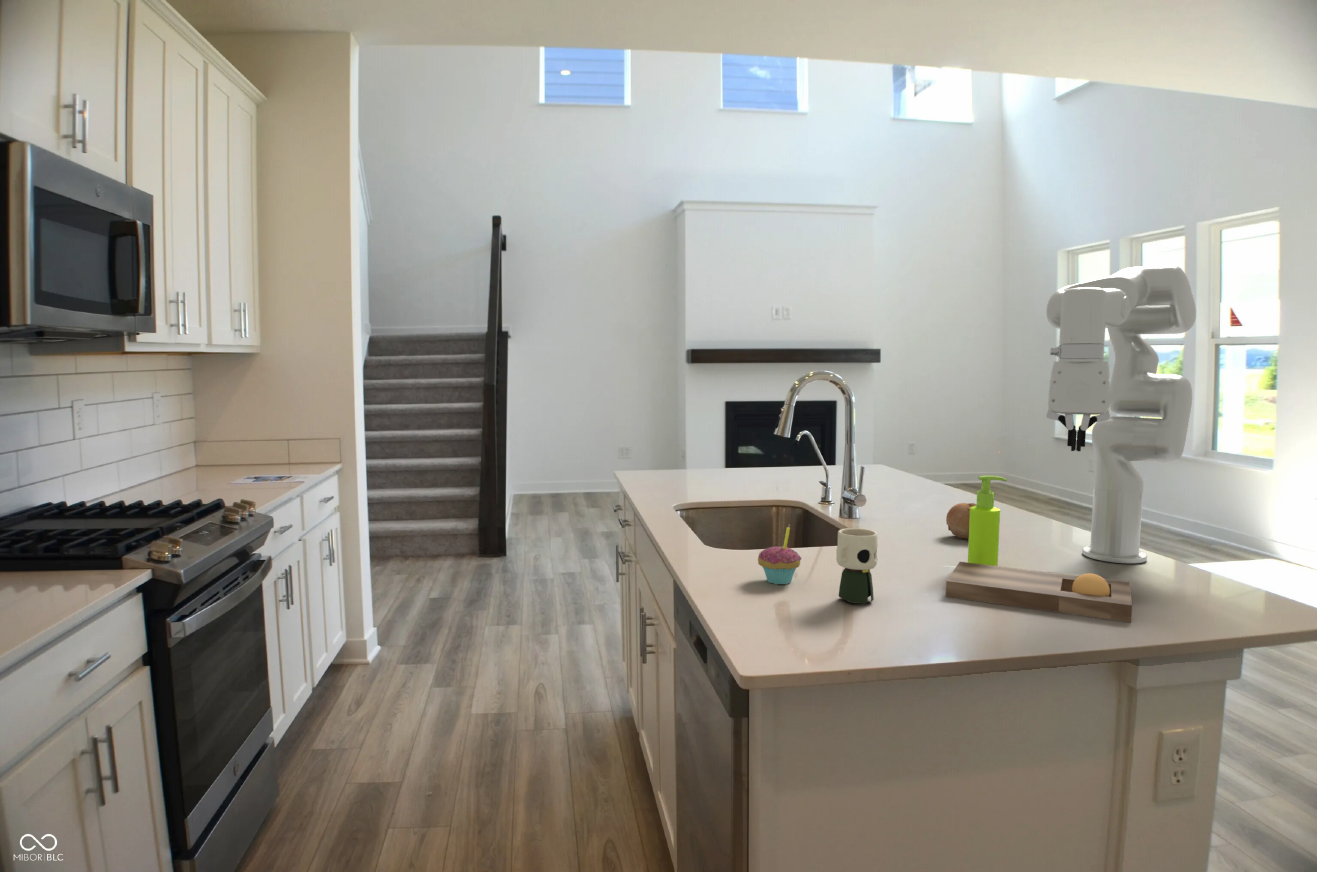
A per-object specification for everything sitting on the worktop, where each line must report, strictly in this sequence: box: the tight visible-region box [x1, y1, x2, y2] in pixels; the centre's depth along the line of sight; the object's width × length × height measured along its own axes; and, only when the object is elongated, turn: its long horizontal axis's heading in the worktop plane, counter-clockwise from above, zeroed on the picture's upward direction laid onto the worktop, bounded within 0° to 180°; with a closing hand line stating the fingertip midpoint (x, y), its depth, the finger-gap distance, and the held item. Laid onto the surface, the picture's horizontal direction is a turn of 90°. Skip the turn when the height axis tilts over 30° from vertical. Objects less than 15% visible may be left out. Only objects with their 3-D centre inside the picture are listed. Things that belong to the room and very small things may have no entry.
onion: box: [945, 502, 977, 540], centre depth 196 cm, size 10×9×10 cm
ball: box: [1072, 572, 1110, 597], centre depth 142 cm, size 6×6×6 cm
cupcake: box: [757, 523, 802, 585], centre depth 158 cm, size 9×8×12 cm
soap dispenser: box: [967, 475, 1008, 566], centre depth 166 cm, size 6×7×20 cm
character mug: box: [836, 527, 878, 604], centre depth 145 cm, size 11×7×13 cm, turn 127°
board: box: [945, 561, 1133, 623], centre depth 148 cm, size 16×30×3 cm, turn 61°
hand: (1075, 450), depth 151 cm, fingers closed
